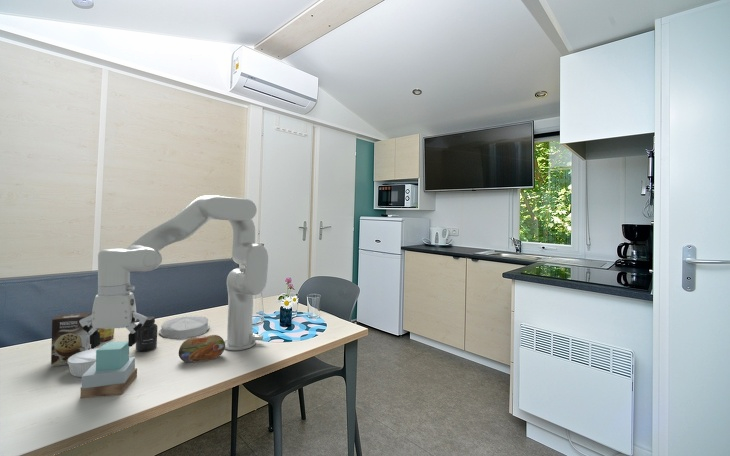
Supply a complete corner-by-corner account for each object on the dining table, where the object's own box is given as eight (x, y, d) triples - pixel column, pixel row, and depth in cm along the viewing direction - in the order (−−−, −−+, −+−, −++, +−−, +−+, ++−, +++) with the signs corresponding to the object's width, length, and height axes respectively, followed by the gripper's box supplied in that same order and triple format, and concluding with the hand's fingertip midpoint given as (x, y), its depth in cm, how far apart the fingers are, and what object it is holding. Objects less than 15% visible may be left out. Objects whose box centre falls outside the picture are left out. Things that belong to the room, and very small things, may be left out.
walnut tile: (136, 378, 101) (137, 368, 101) (121, 396, 92) (121, 384, 91) (100, 381, 99) (100, 370, 99) (80, 399, 89) (80, 387, 89)
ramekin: (60, 381, 97) (60, 364, 97) (76, 365, 107) (76, 350, 107) (105, 375, 102) (105, 359, 101) (116, 360, 112) (117, 346, 112)
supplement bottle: (146, 353, 118) (146, 321, 118) (130, 351, 120) (131, 319, 119) (161, 346, 125) (162, 316, 125) (146, 344, 126) (147, 314, 126)
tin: (178, 364, 111) (178, 341, 111) (178, 361, 114) (179, 338, 113) (224, 357, 118) (225, 335, 118) (224, 354, 121) (224, 332, 121)
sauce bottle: (91, 340, 128) (92, 291, 127) (108, 335, 134) (109, 288, 133) (100, 343, 125) (101, 293, 125) (118, 338, 131) (119, 290, 131)
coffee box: (49, 367, 105) (50, 319, 105) (57, 359, 111) (58, 313, 110) (85, 362, 109) (86, 316, 109) (91, 355, 115) (91, 311, 115)
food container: (217, 324, 153) (217, 311, 153) (197, 339, 133) (197, 323, 133) (175, 324, 152) (175, 310, 152) (148, 339, 132) (149, 322, 132)
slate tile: (134, 367, 102) (135, 356, 101) (124, 383, 92) (124, 371, 92) (96, 371, 98) (96, 360, 98) (81, 388, 88) (81, 376, 88)
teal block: (129, 360, 99) (129, 341, 99) (120, 369, 93) (120, 349, 93) (106, 361, 97) (106, 342, 97) (95, 370, 92) (96, 350, 91)
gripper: (152, 286, 100) (151, 339, 101) (88, 287, 96) (88, 342, 97) (140, 292, 93) (140, 349, 94) (71, 293, 89) (71, 353, 90)
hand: (114, 345), depth 95 cm, fingers open, 9 cm apart
